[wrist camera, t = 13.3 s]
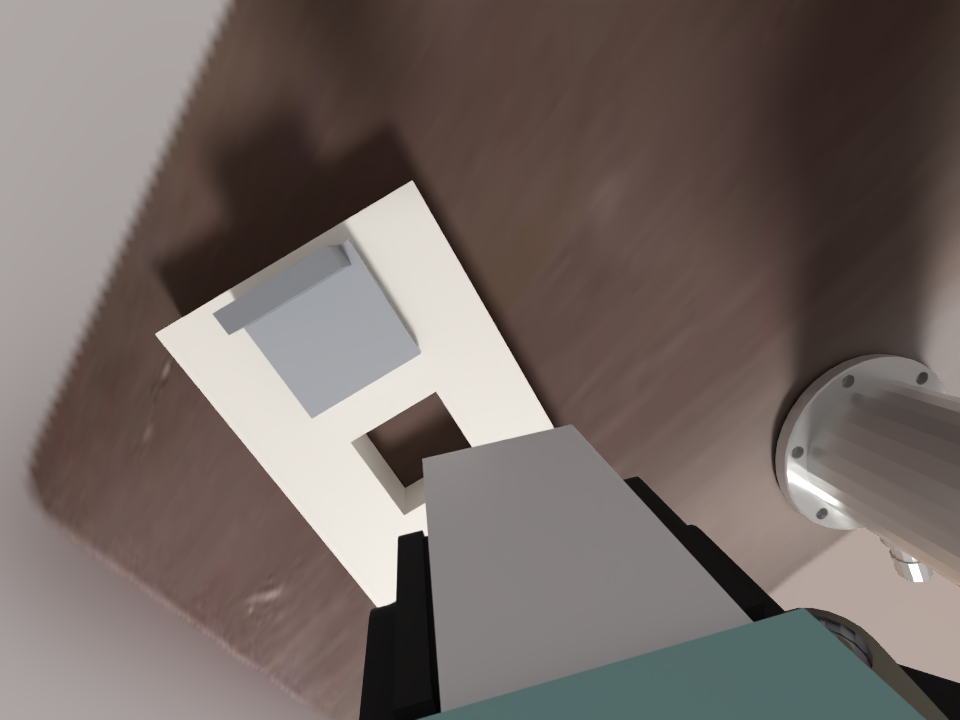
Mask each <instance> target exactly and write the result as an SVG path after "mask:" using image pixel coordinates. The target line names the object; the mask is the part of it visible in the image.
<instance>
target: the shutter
mask: <svg viewBox="0 0 960 720" xmlns="http://www.w3.org/2000/svg"><path fill="white" fill-rule="evenodd" d="M213 315H214V317H215V318H216V319H217V321H218V322H219V323H220V325H221V326H222V327H223V328H224V330H225V331H226V332H227V334H228V335H231V334H233V333H235V332H237V331H239V330H241V329H243V328H244V329H245V330H246V332H247V333H248V334H249V336H250V337H251V338H252V340H253V341H254V342H255V344H256V345H257V346H258V348H259V349H260V350H261V352H262V353H263V354H264V356H265V357H266V358H267V360H268V361H269V362H270V364H271V365H272V366H273V368H274V369H275V370H276V372H277V373H278V374H279V376H280V377H281V378H282V380H283V381H284V382H285V384H286V385H287V386H288V388H289V389H290V390H291V392H292V393H293V394H294V396H295V397H296V398H297V400H298V401H299V402H300V404H301V405H302V406H303V408H304V409H305V410H306V412H307V413H308V414H309V416H310V417H311V418H314V417H316V416H317V415H319V414H321V413H322V412H324V411H326V410H327V409H329V408H331V407H333V406H334V405H336V404H338V403H339V402H341V401H343V400H344V399H346V398H348V397H349V396H351V395H353V394H354V393H356V392H358V391H359V390H361V389H363V388H364V387H366V386H368V385H369V384H371V383H373V382H374V381H376V380H378V379H379V378H381V377H383V376H384V375H386V374H388V373H389V372H391V371H393V370H395V369H396V368H398V367H400V366H401V365H403V364H405V363H406V362H408V361H410V360H411V359H413V358H415V357H416V356H418V355H420V354H421V350H420V348H419V347H418V345H417V343H416V342H415V340H414V339H413V337H412V336H411V334H410V332H409V331H408V329H407V328H406V326H405V325H404V323H403V321H402V320H401V318H400V317H399V315H398V314H397V312H396V310H395V309H394V307H393V306H392V304H391V302H390V301H389V299H388V298H387V296H386V295H385V293H384V291H383V290H382V288H381V287H380V285H379V284H378V282H377V280H376V279H375V277H374V276H373V274H372V273H371V271H370V269H369V268H368V266H367V265H366V263H365V262H364V260H363V258H362V257H361V255H360V254H359V252H358V251H357V249H356V247H355V246H354V244H353V243H352V241H351V240H347V241H345V242H344V243H342V244H340V245H327V246H325V247H323V248H321V249H320V250H318V251H316V252H315V253H313V254H311V255H310V256H308V257H306V258H305V259H303V260H301V261H300V262H298V263H296V264H295V265H293V266H291V267H290V268H288V269H286V270H285V271H283V272H281V273H280V274H278V275H276V276H275V277H273V278H271V279H270V280H268V281H266V282H265V283H263V284H261V285H260V286H258V287H256V288H255V289H253V290H251V291H250V292H248V293H246V294H244V295H243V296H241V297H239V298H238V299H236V300H234V301H233V302H231V303H229V304H228V305H226V306H224V307H223V308H221V309H219V310H218V311H216V312H214V313H213Z"/></svg>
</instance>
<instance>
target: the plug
mask: <svg viewBox="0 0 960 720" xmlns="http://www.w3.org/2000/svg"><path fill="white" fill-rule="evenodd" d="M422 463H423V476H424V490H425V503H426V516H427V530H428V543H429V556H430V569H431V583H432V596H433V609H434V623H435V636H436V649H437V663H438V676H439V689H440V703H441V713H438V714H434V715H431V716H428V717H424V718H421V719H417V720H926V719H925V718H924V717H923V716H922V715H921V714H919V713H918V712H917V711H916V710H915V709H914V708H913V707H912V706H911V705H910V704H909V703H907V702H906V701H905V700H904V699H903V698H902V697H901V696H900V695H899V694H898V693H897V692H895V691H894V690H893V689H892V688H891V687H890V686H889V685H888V684H887V683H886V682H884V681H883V680H882V679H881V678H880V677H879V676H878V675H877V674H876V673H875V672H874V671H872V670H871V669H870V668H869V667H868V666H867V665H866V664H865V663H864V662H863V661H862V660H860V659H859V658H858V657H857V656H856V655H855V654H854V653H853V652H852V651H851V650H850V649H848V648H847V647H846V646H845V645H844V644H843V643H842V642H841V641H840V640H839V639H838V638H836V637H835V636H834V635H833V634H832V633H831V632H830V631H829V630H828V629H827V628H825V627H824V626H823V625H822V624H821V623H820V622H819V621H818V620H817V619H816V618H815V617H813V616H812V615H811V614H810V613H809V612H808V611H807V610H806V609H805V608H801V609H798V610H794V611H791V612H787V613H784V614H781V615H777V616H774V617H770V618H767V619H763V620H760V621H756V622H753V621H752V620H751V619H750V618H749V617H748V616H747V615H746V613H745V612H744V611H743V610H742V609H741V608H740V607H739V606H738V605H737V604H736V603H735V601H734V600H733V599H732V598H731V597H730V596H729V595H728V594H727V593H726V592H725V591H724V589H723V588H722V587H721V586H720V585H719V584H718V583H717V582H716V581H715V580H714V579H713V578H712V576H711V575H710V574H709V573H708V572H707V571H706V570H705V569H704V568H703V567H702V566H701V564H700V563H699V562H698V561H697V560H696V559H695V558H694V557H693V556H692V555H691V554H690V552H689V551H688V550H687V549H686V548H685V547H684V546H683V545H682V544H681V543H680V542H679V540H678V539H677V538H676V537H675V536H674V535H673V534H672V533H671V532H670V531H669V530H668V528H667V527H666V526H665V525H664V524H663V523H662V522H661V521H660V520H659V519H658V518H657V516H656V515H655V514H654V513H653V512H652V511H651V510H650V509H649V508H648V507H647V506H646V505H645V503H644V502H643V501H642V500H641V499H640V498H639V497H638V496H637V495H636V494H635V493H634V491H633V490H632V489H631V488H630V487H629V486H628V485H627V484H626V483H625V482H624V481H623V479H622V478H621V477H620V476H619V475H618V474H617V473H616V472H615V471H614V470H613V469H612V467H611V466H610V465H609V464H608V463H607V462H606V461H605V460H604V459H603V458H602V457H601V455H600V454H599V453H598V452H597V451H596V450H595V449H594V448H593V447H592V446H591V445H590V443H589V442H588V441H587V440H586V439H585V438H584V437H583V436H582V435H581V434H580V433H579V432H578V430H577V429H576V428H575V427H574V426H573V425H572V424H571V425H567V426H562V427H558V428H554V429H549V430H545V431H541V432H536V433H532V434H527V435H523V436H519V437H514V438H510V439H506V440H501V441H497V442H493V443H488V444H484V445H480V446H475V447H471V448H467V449H462V450H458V451H454V452H449V453H445V454H441V455H436V456H432V457H428V458H423V459H422Z"/></svg>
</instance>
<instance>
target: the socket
mask: <svg viewBox="0 0 960 720" xmlns="http://www.w3.org/2000/svg"><path fill="white" fill-rule="evenodd" d="M347 240H351V241H352V243H353V244H354V246H355V247H356V249H357V251H358V252H359V254H360V255H361V257H362V258H363V260H364V262H365V263H366V265H367V266H368V268H369V269H370V271H371V273H372V274H373V276H374V277H375V279H376V280H377V282H378V284H379V285H380V287H381V288H382V290H383V291H384V293H385V295H386V296H387V298H388V299H389V301H390V302H391V304H392V306H393V307H394V309H395V310H396V312H397V314H398V315H399V317H400V318H401V320H402V321H403V323H404V325H405V326H406V328H407V329H408V331H409V332H410V334H411V336H412V337H413V339H414V340H415V342H416V343H417V345H418V347H419V348H420V350H421V354H420V355H418V356H416V357H415V358H413V359H411V360H410V361H408V362H406V363H405V364H403V365H401V366H400V367H398V368H396V369H395V370H393V371H391V372H389V373H388V374H386V375H384V376H383V377H381V378H379V379H378V380H376V381H374V382H373V383H371V384H369V385H368V386H366V387H364V388H363V389H361V390H359V391H358V392H356V393H354V394H353V395H351V396H349V397H348V398H346V399H344V400H343V401H341V402H339V403H338V404H336V405H334V406H333V407H331V408H329V409H327V410H326V411H324V412H322V413H321V414H319V415H317V416H316V417H314V418H311V417H310V416H309V414H308V413H307V412H306V410H305V409H304V408H303V406H302V405H301V404H300V402H299V401H298V400H297V398H296V397H295V396H294V394H293V393H292V392H291V390H290V389H289V388H288V386H287V385H286V384H285V382H284V381H283V380H282V378H281V377H280V376H279V374H278V373H277V372H276V370H275V369H274V368H273V366H272V365H271V364H270V362H269V361H268V360H267V358H266V357H265V356H264V354H263V353H262V352H261V350H260V349H259V348H258V346H257V345H256V344H255V342H254V341H253V340H252V338H251V337H250V336H249V334H248V333H247V332H246V330H245V329H244V328H243V329H241V330H239V331H237V332H235V333H233V334H231V335H228V334H227V332H226V331H225V330H224V328H223V327H222V326H221V325H220V323H219V322H218V321H217V319H216V318H215V317H214V315H213V313H214V312H216V311H218V310H219V309H221V308H223V307H224V306H226V305H228V304H229V303H231V302H233V301H234V300H236V299H238V298H239V297H241V296H243V295H244V294H246V293H248V292H250V291H251V290H253V289H255V288H256V287H258V286H260V285H261V284H263V283H265V282H266V281H268V280H270V279H271V278H273V277H275V276H276V275H278V274H280V273H281V272H283V271H285V270H286V269H288V268H290V267H291V266H293V265H295V264H296V263H298V262H300V261H301V260H303V259H305V258H306V257H308V256H310V255H311V254H313V253H315V252H316V251H318V250H320V249H321V248H323V247H325V246H327V245H340V244H342V243H344V242H345V241H347ZM155 335H156V336H157V337H158V339H159V340H160V341H161V342H162V344H163V345H164V346H165V347H166V348H167V350H168V351H169V352H170V353H171V355H172V356H173V357H174V358H175V360H176V361H177V362H178V363H179V364H180V366H181V367H182V368H183V369H184V371H185V372H186V373H187V374H188V376H189V377H190V378H191V379H192V380H193V382H194V383H195V384H196V385H197V387H198V388H199V389H200V390H201V391H202V393H203V394H204V395H205V396H206V398H207V399H208V400H209V401H210V403H211V404H212V405H213V406H214V407H215V409H216V410H217V411H218V412H219V414H220V415H221V416H222V417H223V418H224V420H225V421H226V422H227V423H228V425H229V426H230V427H231V428H232V430H233V431H234V432H235V433H236V434H237V436H238V437H239V438H240V439H241V441H242V442H243V443H244V444H245V445H246V447H247V448H248V449H249V450H250V452H251V453H252V454H253V455H254V457H255V458H256V459H257V460H258V461H259V463H260V464H261V465H262V466H263V468H264V469H265V470H266V471H267V472H268V474H269V475H270V476H271V477H272V479H273V480H274V481H275V482H276V484H277V485H278V486H279V487H280V488H281V490H282V491H283V492H284V493H285V495H286V496H287V497H288V498H289V499H290V501H291V502H292V503H293V504H294V506H295V507H296V508H297V509H298V511H299V512H300V513H301V514H302V515H303V517H304V518H305V519H306V520H307V522H308V523H309V524H310V525H311V526H312V528H313V529H314V530H315V531H316V533H317V534H318V535H319V536H320V538H321V539H322V540H323V541H324V542H325V544H326V545H327V546H328V547H329V549H330V550H331V551H332V552H333V553H334V555H335V556H336V557H337V558H338V560H339V561H340V562H341V563H342V565H343V566H344V567H345V568H346V569H347V571H348V572H349V573H350V574H351V576H352V577H353V578H354V579H355V580H356V582H357V583H358V584H359V585H360V587H361V588H362V589H363V590H364V592H365V593H366V594H367V595H368V596H369V598H370V599H371V600H372V601H373V603H374V604H375V605H376V606H377V607H382V606H386V605H389V604H391V603H393V602H394V601H396V587H397V551H398V536H401V535H405V534H409V533H413V532H417V531H421V530H423V532H424V535H425V536H428V530H427V516H426V503H425V490H424V477H423V478H421V479H420V480H418V481H416V482H415V483H413V484H411V485H410V486H408V487H406V488H404V486H403V485H402V483H401V482H400V481H399V479H398V478H397V476H396V475H395V474H394V472H393V471H392V469H391V468H390V467H389V465H388V464H387V462H386V461H385V460H384V458H383V457H382V456H381V454H380V453H379V451H378V450H377V449H376V447H375V446H374V444H373V443H372V442H371V440H370V439H369V437H368V436H367V435H366V433H367V432H369V431H370V430H372V429H374V428H375V427H377V426H379V425H380V424H382V423H384V422H385V421H387V420H389V419H390V418H392V417H394V416H395V415H397V414H399V413H401V412H402V411H404V410H406V409H407V408H409V407H411V406H412V405H414V404H416V403H417V402H419V401H421V400H422V399H424V398H426V397H427V396H429V395H431V394H432V393H434V392H437V394H438V395H439V397H440V398H441V400H442V401H443V403H444V404H445V406H446V408H447V409H448V411H449V412H450V414H451V415H452V417H453V418H454V420H455V422H456V423H457V425H458V426H459V428H460V429H461V431H462V432H463V434H464V436H465V437H466V439H467V440H468V442H469V443H470V445H471V446H472V447H475V446H480V445H484V444H488V443H493V442H497V441H501V440H506V439H510V438H514V437H519V436H523V435H527V434H532V433H536V432H541V431H545V430H549V429H554V427H553V425H552V423H551V422H550V420H549V418H548V416H547V415H546V413H545V411H544V409H543V408H542V406H541V404H540V402H539V401H538V399H537V397H536V395H535V394H534V392H533V390H532V388H531V387H530V385H529V383H528V381H527V380H526V378H525V376H524V374H523V373H522V371H521V369H520V367H519V366H518V364H517V362H516V360H515V359H514V357H513V355H512V353H511V352H510V350H509V348H508V346H507V345H506V343H505V341H504V339H503V338H502V336H501V334H500V332H499V331H498V329H497V327H496V325H495V324H494V322H493V320H492V318H491V317H490V315H489V313H488V311H487V310H486V308H485V306H484V304H483V303H482V301H481V299H480V297H479V296H478V294H477V292H476V290H475V289H474V287H473V285H472V283H471V282H470V280H469V278H468V276H467V275H466V273H465V271H464V269H463V268H462V266H461V264H460V262H459V261H458V259H457V257H456V256H455V254H454V252H453V250H452V249H451V247H450V245H449V243H448V242H447V240H446V238H445V236H444V235H443V233H442V231H441V229H440V228H439V226H438V224H437V222H436V221H435V219H434V217H433V215H432V214H431V212H430V210H429V208H428V207H427V205H426V203H425V201H424V200H423V198H422V196H421V194H420V193H419V191H418V189H417V187H416V186H415V184H414V182H413V180H412V181H410V182H409V183H407V184H405V185H404V186H402V187H400V188H398V189H397V190H395V191H393V192H392V193H390V194H388V195H387V196H385V197H383V198H382V199H380V200H378V201H377V202H375V203H373V204H372V205H370V206H368V207H367V208H365V209H363V210H362V211H360V212H358V213H357V214H355V215H353V216H352V217H350V218H348V219H347V220H345V221H343V222H342V223H340V224H338V225H337V226H335V227H333V228H332V229H330V230H328V231H327V232H325V233H323V234H321V235H320V236H318V237H316V238H315V239H313V240H311V241H310V242H308V243H306V244H305V245H303V246H301V247H300V248H298V249H296V250H295V251H293V252H291V253H290V254H288V255H286V256H285V257H283V258H281V259H280V260H278V261H276V262H275V263H273V264H271V265H270V266H268V267H266V268H265V269H263V270H261V271H260V272H258V273H256V274H255V275H253V276H251V277H250V278H248V279H246V280H244V281H243V282H241V283H239V284H238V285H236V286H234V287H233V288H231V289H229V290H228V291H226V292H224V293H223V294H221V295H219V296H218V297H216V298H214V299H213V300H211V301H209V302H208V303H206V304H204V305H203V306H201V307H199V308H198V309H196V310H194V311H193V312H191V313H189V314H188V315H186V316H184V317H183V318H181V319H179V320H178V321H176V322H174V323H172V324H171V325H169V326H167V327H166V328H164V329H162V330H161V331H159V332H157V333H156V334H155Z"/></svg>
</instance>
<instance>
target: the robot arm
mask: <svg viewBox="0 0 960 720" xmlns="http://www.w3.org/2000/svg"><path fill="white" fill-rule="evenodd" d="M775 463H776V475H777V479H778V482H779V486H780V489H781V491H782V493H783V494H784V496H785V498H786V500H787V501H788V502H789V503H790V504H791V505H792V506H793V507H794V508H795V510H796V511H798V512H799V513H801V514H802V515H804V516H805V517H807V518H808V519H809V520H811V521H813V522H815V523H817V524H819V525H821V526H823V527H828V528H833V529H849V530H852V529H857V528H863V527H865V528H866V529H868V530H869V531H871V532H873V533H874V534H876V535H877V536H879V537H880V540H881V542H882V543H883V544H884V545H885V546H887V547H889V548H890V555H891V558H892V560H893V563H894V566H895V569H896V571H897V573H898V574H899V575H900V576H901V577H903V578H904V579H906V580H909V581H913V582H924V581H926V580H929V579H930V578H931V576H932V574H933V573H932V570H934V571H935V572H937V573H939V574H940V575H942V576H943V577H945V578H947V579H948V580H950V581H951V582H953V583H955V584H956V585H958V586H959V587H960V398H957V397H953V396H950V395H948V394H947V391H946V389H945V386H944V385H943V383H942V382H941V381H940V379H939V378H938V376H937V375H936V374H935V373H934V372H933V371H931V370H930V369H929V368H928V367H927V366H925V365H923V364H921V363H919V362H917V361H914V360H912V359H908V358H904V357H900V356H895V355H888V354H872V355H864V356H859V357H856V358H854V359H851V360H848V361H845V362H843V363H841V364H839V365H837V366H835V367H834V368H832V369H830V370H828V371H827V372H826V373H824V374H823V375H822V376H820V377H819V378H818V379H817V380H815V381H814V382H813V383H812V384H811V385H810V386H809V387H808V388H807V389H806V390H805V391H804V393H803V394H802V395H801V396H800V397H799V399H798V400H797V402H796V403H795V404H794V406H793V407H792V409H791V410H790V412H789V414H788V416H787V418H786V420H785V422H784V424H783V426H782V429H781V433H780V436H779V439H778V442H777V449H776V458H775ZM623 481H624V482H625V483H626V484H627V485H628V486H629V487H630V488H631V489H632V490H633V491H634V493H635V494H636V495H637V496H638V497H639V498H640V499H641V500H642V501H643V502H644V503H645V505H646V506H647V507H648V508H649V509H650V510H651V511H652V512H653V513H654V514H655V515H656V516H657V518H658V519H659V520H660V521H661V522H662V523H663V524H664V525H665V526H666V527H667V528H668V530H669V531H670V532H671V533H672V534H673V535H674V536H675V537H676V538H677V539H678V540H679V542H680V543H681V544H682V545H683V546H684V547H685V548H686V549H687V550H688V551H689V552H690V554H691V555H692V556H693V557H694V558H695V559H696V560H697V561H698V562H699V563H700V564H701V566H702V567H703V568H704V569H705V570H706V571H707V572H708V573H709V574H710V575H711V576H712V578H713V579H714V580H715V581H716V582H717V583H718V584H719V585H720V586H721V587H722V588H723V589H724V591H725V592H726V593H727V594H728V595H729V596H730V597H731V598H732V599H733V600H734V601H735V603H736V604H737V605H738V606H739V607H740V608H741V609H742V610H743V611H744V612H745V613H746V615H747V616H748V617H749V618H750V619H751V620H752V621H753V622H756V621H760V620H763V619H767V618H770V617H774V616H777V615H781V614H784V613H787V612H791V611H794V610H798V609H801V608H796V609H792V610H788V611H784V610H783V609H782V608H781V607H780V606H779V605H778V604H777V603H776V602H775V601H774V600H773V599H772V598H771V597H770V596H769V595H768V594H767V593H765V592H764V591H763V590H762V589H761V588H760V587H759V586H758V585H757V584H756V583H755V582H754V581H753V580H752V579H751V578H750V577H749V576H748V575H747V574H746V573H745V572H744V571H743V570H742V569H741V568H740V567H739V566H738V565H737V564H736V563H735V562H734V561H732V560H731V559H730V558H729V557H728V556H727V555H726V554H725V553H724V552H723V551H722V550H721V549H720V548H719V547H718V546H717V545H716V544H715V543H714V542H713V541H712V540H711V539H710V538H709V537H708V536H707V535H706V534H705V533H704V532H703V531H702V530H700V529H699V528H698V527H696V526H695V525H686V524H685V523H684V522H683V521H682V520H681V519H680V518H679V517H678V516H677V515H676V514H675V513H674V512H673V511H672V510H671V509H670V508H669V507H668V506H667V505H666V504H665V503H664V502H663V501H662V500H661V499H660V498H659V497H658V496H657V495H656V494H655V493H654V492H653V491H652V490H651V489H650V488H649V487H648V486H647V485H646V484H645V483H644V482H643V481H642V480H641V479H640V478H639V477H633V478H629V479H625V480H623ZM805 609H806V610H807V611H808V612H809V613H810V614H811V615H812V616H813V617H815V618H816V619H817V620H818V621H819V622H820V623H821V624H822V625H823V626H824V627H825V628H827V629H828V630H829V631H830V632H831V633H832V634H833V635H834V636H835V637H836V638H838V639H839V640H840V641H841V642H842V643H843V644H844V645H845V646H846V647H847V648H848V649H850V650H851V651H852V652H853V653H854V654H855V655H856V656H857V657H858V658H859V659H860V660H862V661H863V662H864V663H865V664H866V665H867V666H868V667H869V668H870V669H871V670H872V671H874V672H875V673H876V674H877V675H878V676H879V677H880V678H881V679H882V680H883V681H884V682H886V683H887V684H888V685H889V686H890V687H891V688H892V689H893V690H894V691H895V692H897V693H898V694H899V695H900V696H901V697H902V698H903V699H904V700H905V701H906V702H907V703H909V704H910V705H911V706H912V707H913V708H914V709H915V710H916V711H917V712H918V713H919V714H921V715H922V716H923V717H924V718H925V719H926V720H960V683H957V682H954V681H951V680H947V679H944V678H941V677H938V676H934V675H931V674H928V673H925V672H922V671H918V670H915V669H912V668H909V667H905V666H902V665H899V664H897V663H896V662H895V661H894V660H893V659H892V657H891V656H890V655H889V654H888V653H887V652H886V651H885V650H884V649H883V648H882V647H881V646H880V645H879V643H878V642H877V641H876V640H875V639H874V638H873V637H872V636H870V635H869V634H868V633H867V632H866V631H865V630H864V629H862V628H861V627H860V626H858V625H856V624H855V623H853V622H851V621H850V620H848V619H846V618H844V617H842V616H839V615H836V614H833V613H831V612H829V611H824V610H819V609H814V608H805ZM438 713H441V703H440V689H439V676H438V663H437V649H436V636H435V623H434V609H433V596H432V583H431V569H430V556H429V543H428V536H425V535H424V532H423V530H421V531H417V532H413V533H409V534H405V535H401V536H398V551H397V587H396V603H393V604H390V605H386V606H382V607H378V608H374V609H372V610H371V612H370V617H369V625H368V635H367V646H366V656H365V666H364V676H363V686H362V696H361V706H360V717H359V720H417V719H421V718H424V717H428V716H431V715H434V714H438Z"/></svg>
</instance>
